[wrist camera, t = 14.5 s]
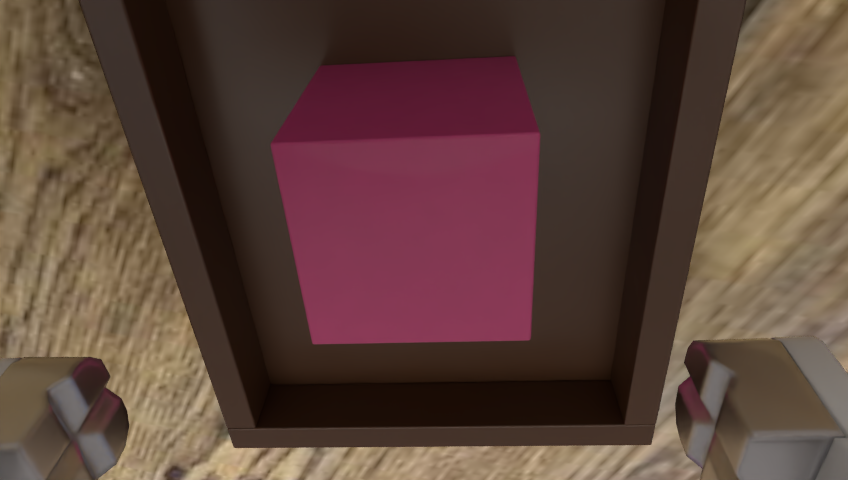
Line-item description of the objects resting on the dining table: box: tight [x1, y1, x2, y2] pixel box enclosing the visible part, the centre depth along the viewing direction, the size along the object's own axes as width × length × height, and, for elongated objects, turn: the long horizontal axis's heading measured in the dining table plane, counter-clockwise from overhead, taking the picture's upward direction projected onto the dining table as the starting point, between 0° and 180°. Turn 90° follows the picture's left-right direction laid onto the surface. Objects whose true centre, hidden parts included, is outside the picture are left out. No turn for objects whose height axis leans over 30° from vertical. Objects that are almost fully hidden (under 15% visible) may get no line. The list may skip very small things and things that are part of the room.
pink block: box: [270, 56, 540, 344], centre depth 14 cm, size 5×5×5 cm
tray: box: [79, 0, 746, 448], centre depth 16 cm, size 20×14×3 cm
